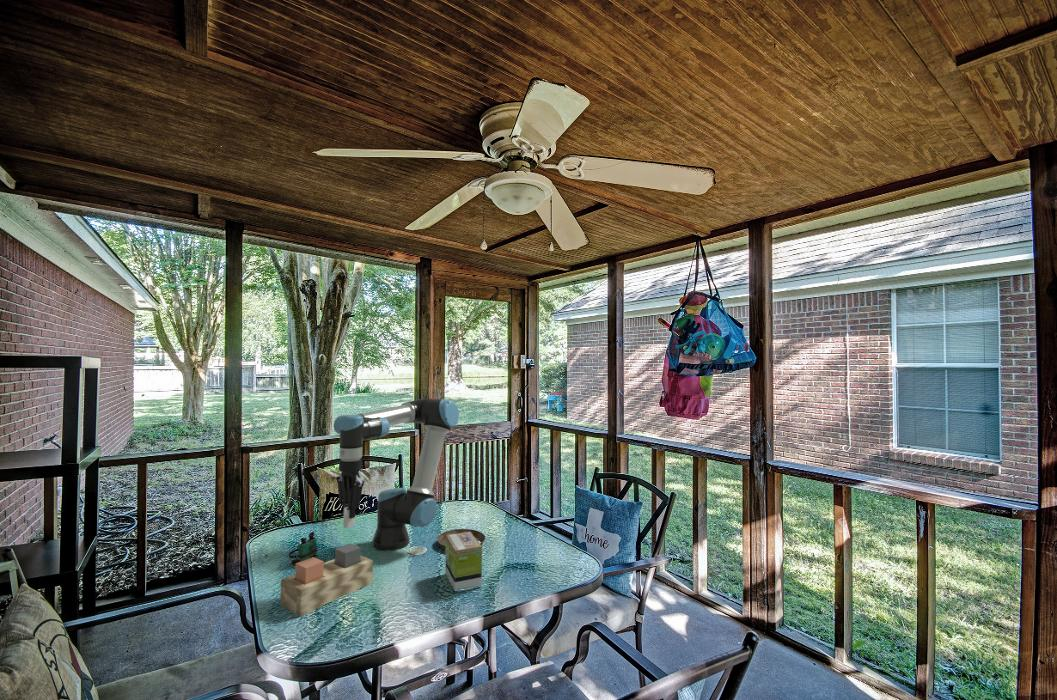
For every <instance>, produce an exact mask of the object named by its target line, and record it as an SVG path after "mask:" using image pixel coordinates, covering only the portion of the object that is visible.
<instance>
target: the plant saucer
mask: <svg viewBox="0 0 1057 700" xmlns="http://www.w3.org/2000/svg"><path fill="white" fill-rule="evenodd" d="M464 532H471V533H472V534H473V536H474V537H475V538H476V540H477V541H480V542H481V543H480V545H481V546H482V545H483V544H484V542H485V541H486V535H485V534H484V533H483V532H481V531H479V530H475V529H472V528H471V529H470V528H456V529H451V530H450V529H449V530H447V531H444V532H442V533H440V534H439V535H438V536H437V538H436V539H437V542H438V544H439V545H440V546H441V548H443V549H444V550H446V535H452V534H458V533H464Z"/></svg>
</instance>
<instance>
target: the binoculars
mask: <svg viewBox="0 0 1057 700" xmlns="http://www.w3.org/2000/svg"><path fill="white" fill-rule="evenodd" d="M300 541H301V543H299V544H298V547H297V548H295V549H293V550H292V551H290V552H289V553H288V557H289V559H293V560H291V564H290V565H296V563H298V562H301V561H304V560H307V559H309V558H312V557H315V558H317V556H316V554H317V553H318V547H317V539H316V537H315V532H310V533H309V534H308V538H307V537H300ZM297 552H298V553H297ZM294 553H295V554H294ZM317 559H318V558H317Z"/></svg>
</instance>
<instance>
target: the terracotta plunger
mask: <svg viewBox="0 0 1057 700" xmlns="http://www.w3.org/2000/svg"><path fill="white" fill-rule="evenodd" d="M324 563H325V562H324V560H321V559H319V558H315V557H312V558H309V559H307V560H304V561H301V562H298V563H296V564H295V572H294V574H295V580H297V581H299V582H300V583H302V584H304V585H306V584H308V583H311V582H313V581H315V580H318V579H320V578H323V570H324Z"/></svg>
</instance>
